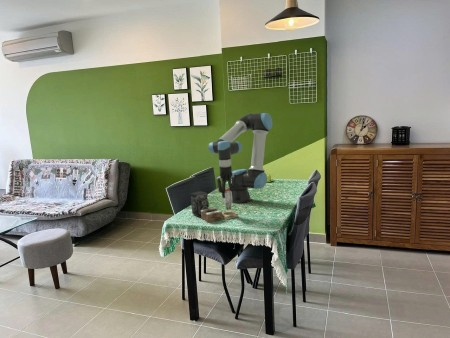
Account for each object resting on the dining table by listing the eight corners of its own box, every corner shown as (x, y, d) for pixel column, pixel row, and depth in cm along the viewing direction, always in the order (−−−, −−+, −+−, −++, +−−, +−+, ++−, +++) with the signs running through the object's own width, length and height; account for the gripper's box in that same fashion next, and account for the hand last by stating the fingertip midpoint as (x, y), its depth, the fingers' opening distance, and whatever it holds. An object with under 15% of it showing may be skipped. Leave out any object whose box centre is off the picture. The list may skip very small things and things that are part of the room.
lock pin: (229, 207, 219) (228, 187, 216) (232, 208, 216) (230, 188, 213) (224, 208, 217) (223, 188, 215) (227, 210, 214) (226, 189, 212)
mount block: (231, 213, 223) (231, 210, 223) (238, 216, 215) (238, 213, 215) (219, 216, 219) (218, 213, 219) (225, 219, 211) (225, 216, 211)
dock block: (215, 215, 220) (214, 207, 219) (222, 219, 212) (221, 210, 211) (201, 218, 216) (200, 210, 215) (208, 222, 207) (207, 214, 206)
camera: (199, 218, 216) (197, 196, 213) (190, 215, 224) (188, 193, 222) (212, 215, 222) (210, 192, 219) (203, 211, 230) (202, 190, 228)
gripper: (233, 163, 218) (236, 198, 223) (210, 167, 211) (213, 203, 215) (239, 164, 212) (242, 200, 216) (216, 168, 204) (219, 206, 209)
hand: (228, 201), depth 216 cm, fingers closed on lock pin, 3 cm apart
